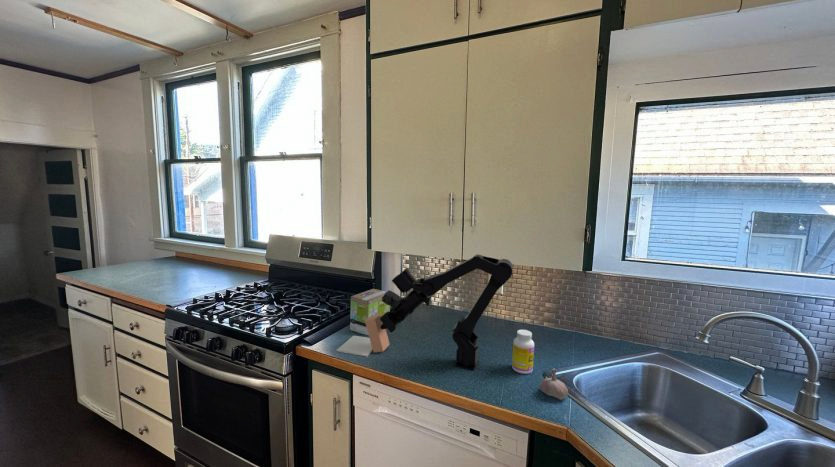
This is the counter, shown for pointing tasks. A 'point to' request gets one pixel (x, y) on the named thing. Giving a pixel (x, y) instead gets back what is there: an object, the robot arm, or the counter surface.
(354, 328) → the tea box
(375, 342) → the block
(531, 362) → the supplement bottle
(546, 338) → the counter surface
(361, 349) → the mat
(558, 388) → the garlic bulb
